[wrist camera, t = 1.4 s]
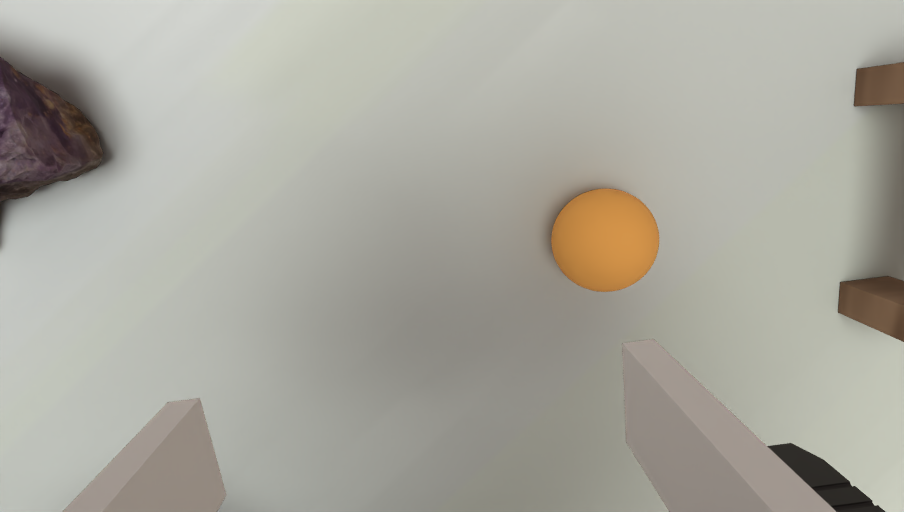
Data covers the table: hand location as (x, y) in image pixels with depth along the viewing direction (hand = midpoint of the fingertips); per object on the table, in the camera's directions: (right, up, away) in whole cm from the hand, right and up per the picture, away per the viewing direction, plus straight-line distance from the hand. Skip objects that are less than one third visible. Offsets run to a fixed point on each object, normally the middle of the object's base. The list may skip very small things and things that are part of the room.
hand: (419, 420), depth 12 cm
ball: (+9, +5, +15) cm, 18 cm away
